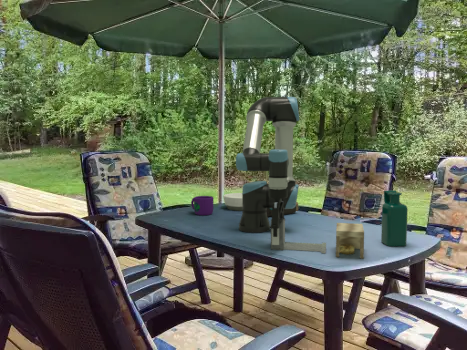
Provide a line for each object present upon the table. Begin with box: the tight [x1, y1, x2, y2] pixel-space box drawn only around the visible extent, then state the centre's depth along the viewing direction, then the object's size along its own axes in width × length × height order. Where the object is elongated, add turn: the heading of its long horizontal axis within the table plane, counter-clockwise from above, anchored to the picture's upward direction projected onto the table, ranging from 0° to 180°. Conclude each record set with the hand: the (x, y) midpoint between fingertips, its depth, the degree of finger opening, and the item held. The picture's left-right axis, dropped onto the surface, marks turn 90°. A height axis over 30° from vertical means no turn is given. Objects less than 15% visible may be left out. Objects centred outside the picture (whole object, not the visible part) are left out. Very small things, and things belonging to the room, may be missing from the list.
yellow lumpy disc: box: [339, 244, 355, 256], centre depth 170 cm, size 6×6×2 cm
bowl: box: [222, 192, 243, 212], centre depth 270 cm, size 22×22×8 cm
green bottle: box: [380, 189, 409, 248], centre depth 182 cm, size 10×8×22 cm
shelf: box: [335, 222, 365, 260], centre depth 169 cm, size 10×15×10 cm, turn 166°
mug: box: [190, 195, 214, 216], centre depth 254 cm, size 17×11×10 cm, turn 43°
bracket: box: [270, 217, 327, 254], centre depth 174 cm, size 22×7×12 cm, turn 76°
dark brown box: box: [266, 201, 299, 218], centre depth 246 cm, size 11×7×30 cm
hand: (277, 240), depth 176 cm, fingers open, 12 cm apart
